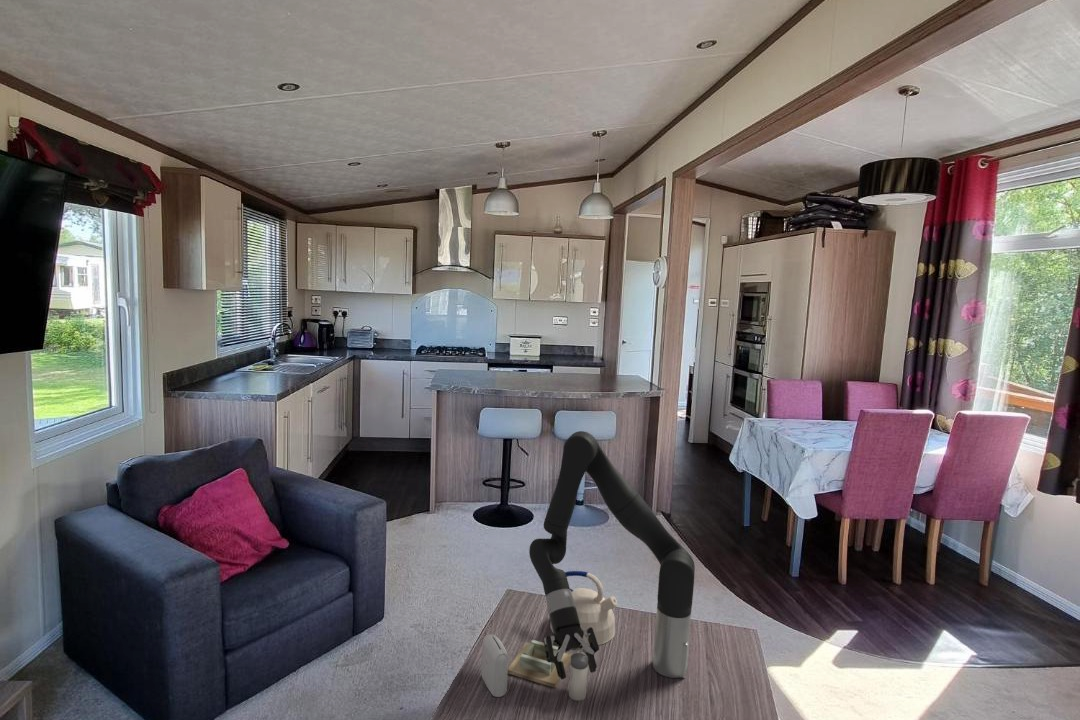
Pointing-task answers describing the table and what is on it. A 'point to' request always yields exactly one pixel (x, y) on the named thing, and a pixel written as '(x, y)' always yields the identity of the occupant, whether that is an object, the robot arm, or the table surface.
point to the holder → (537, 664)
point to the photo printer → (494, 665)
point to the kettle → (594, 609)
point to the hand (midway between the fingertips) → (578, 675)
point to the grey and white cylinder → (578, 676)
